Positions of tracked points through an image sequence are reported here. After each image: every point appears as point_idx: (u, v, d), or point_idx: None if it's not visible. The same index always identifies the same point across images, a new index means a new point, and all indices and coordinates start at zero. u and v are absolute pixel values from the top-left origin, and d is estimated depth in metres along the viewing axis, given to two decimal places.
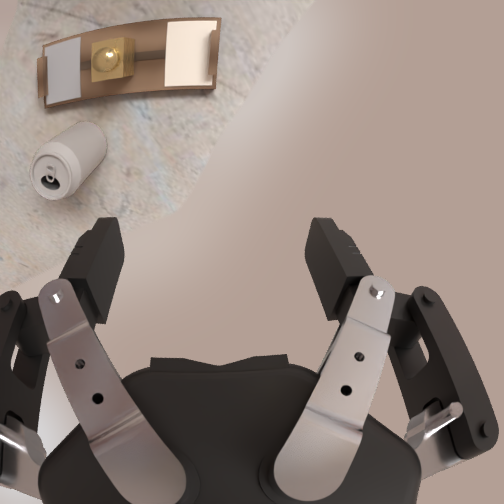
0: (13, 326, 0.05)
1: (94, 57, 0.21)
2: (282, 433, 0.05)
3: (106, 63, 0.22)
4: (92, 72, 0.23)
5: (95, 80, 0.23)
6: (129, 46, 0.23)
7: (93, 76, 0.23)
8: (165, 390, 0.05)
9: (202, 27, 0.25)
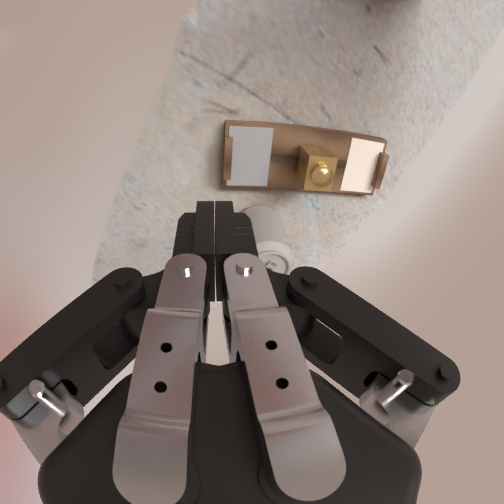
0: (117, 310, 0.07)
1: (315, 173, 0.34)
2: (255, 452, 0.04)
3: (324, 180, 0.35)
4: (306, 181, 0.36)
5: (307, 189, 0.37)
6: None
7: (306, 185, 0.36)
8: (165, 390, 0.05)
9: (374, 147, 0.39)
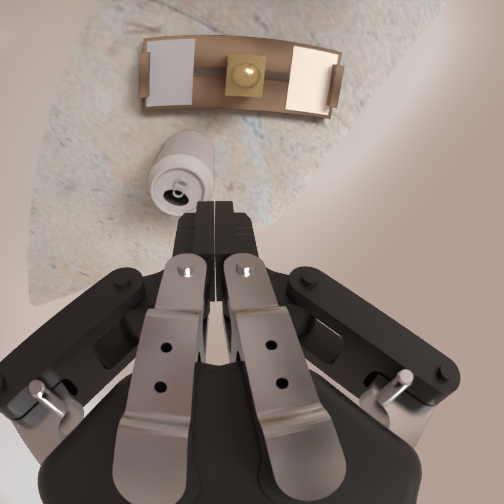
0: (117, 310, 0.06)
1: (235, 70, 0.24)
2: (255, 452, 0.04)
3: (249, 80, 0.25)
4: (227, 85, 0.26)
5: (230, 94, 0.27)
6: None
7: (228, 89, 0.27)
8: (165, 390, 0.05)
9: (325, 58, 0.29)
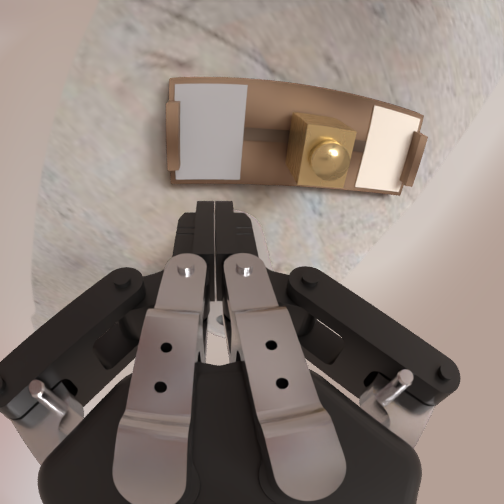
0: (117, 310, 0.06)
1: (318, 154, 0.19)
2: (255, 452, 0.04)
3: (334, 169, 0.20)
4: (301, 170, 0.21)
5: (304, 183, 0.21)
6: None
7: (302, 177, 0.21)
8: (165, 390, 0.05)
9: (406, 123, 0.23)
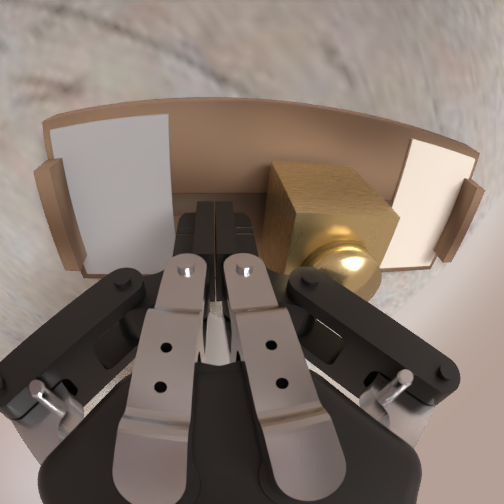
0: (116, 310, 0.06)
1: None
2: (255, 452, 0.04)
3: None
4: None
5: None
6: None
7: None
8: (165, 390, 0.05)
9: (456, 168, 0.13)
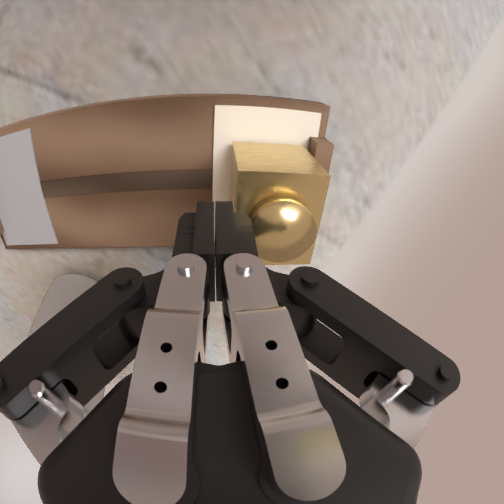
0: (116, 310, 0.06)
1: (257, 225, 0.12)
2: (255, 452, 0.04)
3: (289, 244, 0.12)
4: None
5: None
6: None
7: None
8: (165, 390, 0.05)
9: (291, 126, 0.15)
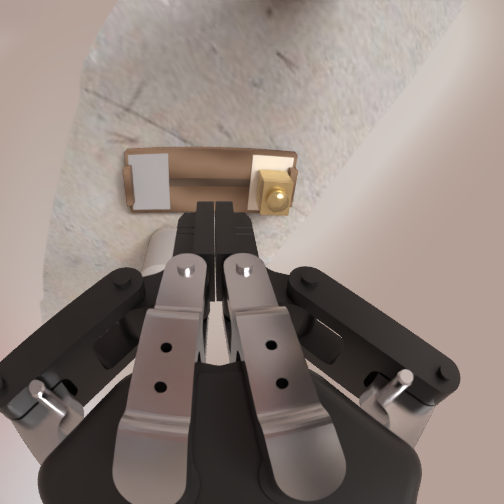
0: (117, 310, 0.06)
1: (270, 198, 0.36)
2: (255, 452, 0.04)
3: (280, 206, 0.37)
4: (262, 206, 0.38)
5: (263, 213, 0.39)
6: None
7: (262, 210, 0.38)
8: (165, 390, 0.05)
9: (282, 163, 0.40)
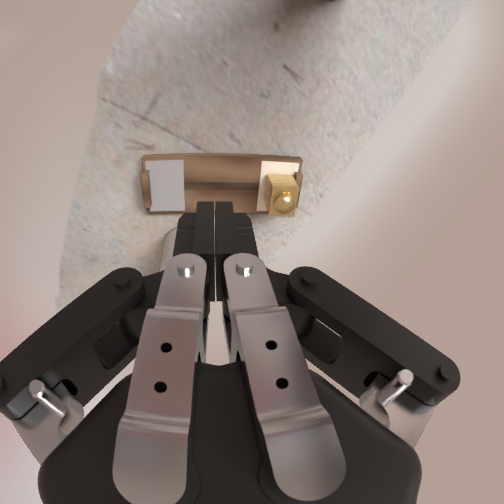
0: (117, 310, 0.06)
1: (278, 202, 0.40)
2: (255, 452, 0.04)
3: (287, 208, 0.41)
4: (270, 209, 0.42)
5: (272, 215, 0.43)
6: None
7: (270, 212, 0.42)
8: (165, 390, 0.05)
9: (288, 168, 0.43)
